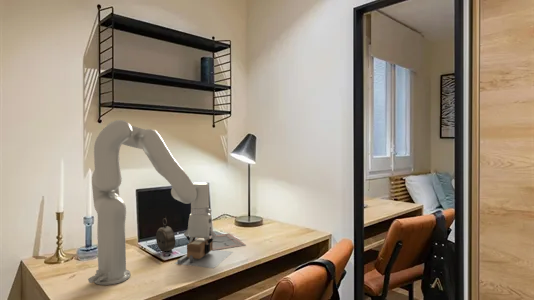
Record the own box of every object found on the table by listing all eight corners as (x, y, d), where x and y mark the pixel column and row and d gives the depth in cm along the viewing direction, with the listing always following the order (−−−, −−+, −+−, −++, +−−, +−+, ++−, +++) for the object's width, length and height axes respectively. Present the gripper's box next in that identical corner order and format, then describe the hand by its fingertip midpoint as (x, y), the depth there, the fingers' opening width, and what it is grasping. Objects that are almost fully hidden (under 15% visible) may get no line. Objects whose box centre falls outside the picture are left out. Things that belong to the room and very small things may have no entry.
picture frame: (199, 242, 173) (212, 254, 154) (199, 237, 173) (212, 249, 154) (229, 237, 181) (245, 249, 162) (229, 232, 181) (245, 244, 162)
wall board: (214, 271, 133) (213, 260, 133) (174, 266, 138) (174, 256, 138) (233, 254, 152) (233, 245, 152) (197, 250, 158) (197, 241, 157)
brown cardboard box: (199, 258, 139) (199, 245, 139) (187, 257, 141) (186, 244, 141) (212, 249, 151) (212, 237, 151) (200, 248, 153) (200, 236, 152)
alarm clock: (176, 254, 153) (175, 219, 152) (165, 257, 149) (164, 221, 148) (164, 248, 160) (164, 215, 160) (153, 251, 157) (153, 217, 156)
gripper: (221, 210, 146) (221, 251, 147) (186, 208, 151) (186, 247, 152) (214, 214, 139) (214, 257, 140) (177, 211, 144) (178, 253, 145)
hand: (200, 251), depth 146 cm, fingers closed on brown cardboard box, 6 cm apart
